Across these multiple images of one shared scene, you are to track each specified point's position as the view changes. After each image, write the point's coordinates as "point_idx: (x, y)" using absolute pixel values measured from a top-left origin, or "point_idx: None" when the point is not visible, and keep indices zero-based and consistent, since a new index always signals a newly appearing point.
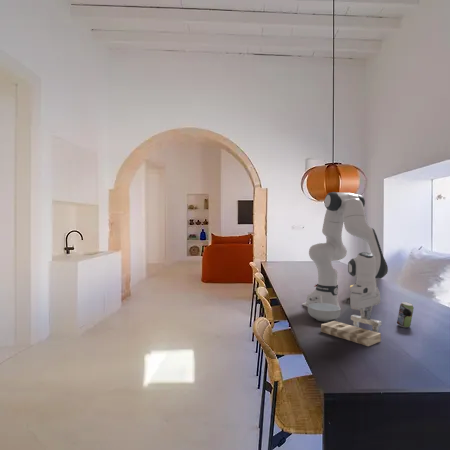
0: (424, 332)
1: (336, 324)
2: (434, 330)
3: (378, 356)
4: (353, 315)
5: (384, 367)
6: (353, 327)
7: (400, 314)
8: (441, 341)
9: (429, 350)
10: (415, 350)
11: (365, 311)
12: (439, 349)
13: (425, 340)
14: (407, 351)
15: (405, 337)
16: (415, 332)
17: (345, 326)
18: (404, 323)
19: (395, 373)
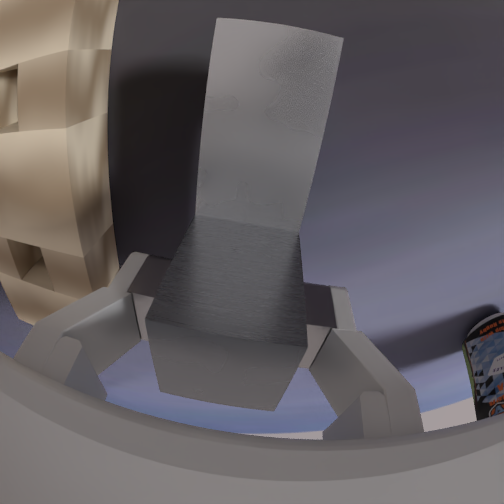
0: (416, 389)
1: (7, 51)
2: (451, 392)
3: (23, 328)
4: (273, 42)
5: (7, 341)
6: (42, 194)
7: (495, 384)
8: (326, 426)
9: (200, 417)
10: (161, 398)
11: (161, 367)
12: (234, 428)
13: (304, 410)
14: (129, 385)
15: (295, 376)
16: (404, 377)
17: (15, 134)
18: (466, 358)
19: (13, 356)
